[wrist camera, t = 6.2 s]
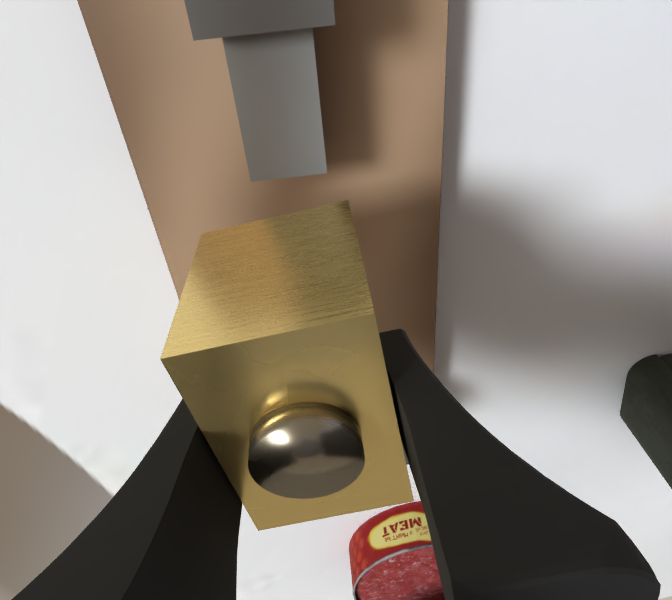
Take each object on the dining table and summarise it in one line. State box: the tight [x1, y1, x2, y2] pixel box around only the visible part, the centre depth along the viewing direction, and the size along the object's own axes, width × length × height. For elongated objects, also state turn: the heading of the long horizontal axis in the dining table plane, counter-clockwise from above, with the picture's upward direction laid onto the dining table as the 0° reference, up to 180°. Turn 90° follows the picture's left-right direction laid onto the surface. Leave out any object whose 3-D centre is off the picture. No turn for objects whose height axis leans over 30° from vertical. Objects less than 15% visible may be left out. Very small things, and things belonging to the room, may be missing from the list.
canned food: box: [349, 501, 445, 600], centre depth 31 cm, size 11×10×10 cm
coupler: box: [161, 200, 414, 531], centre depth 12 cm, size 6×4×6 cm, turn 12°
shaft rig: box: [77, 0, 448, 465], centre depth 17 cm, size 10×19×4 cm, turn 5°
